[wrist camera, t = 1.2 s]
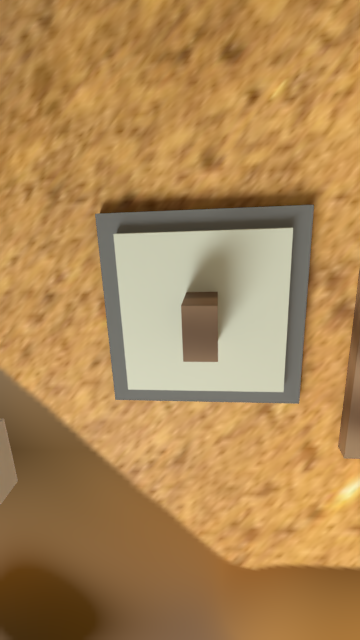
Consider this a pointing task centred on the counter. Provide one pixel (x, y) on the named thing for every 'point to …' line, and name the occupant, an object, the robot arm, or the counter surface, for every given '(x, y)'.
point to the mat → (197, 221)
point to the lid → (205, 308)
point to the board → (352, 393)
